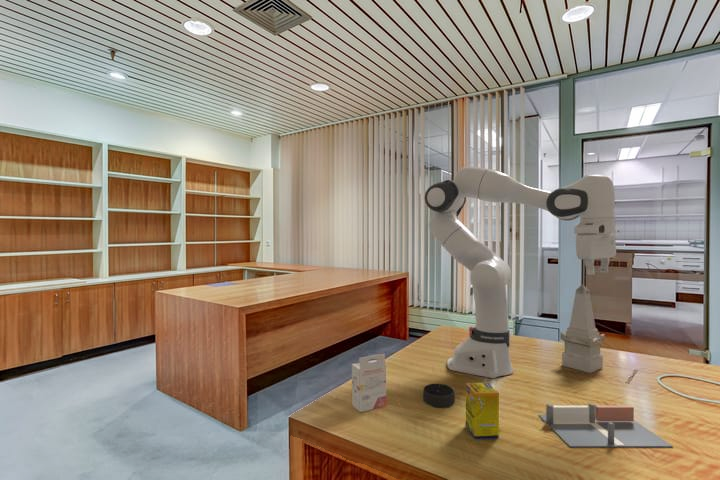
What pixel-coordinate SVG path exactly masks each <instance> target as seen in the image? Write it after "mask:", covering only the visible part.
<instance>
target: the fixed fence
mask: <svg viewBox="0 0 720 480" xmlns="http://www.w3.org/2000/svg"><path fill="white" fill-rule="evenodd" d="M545 406H546V407H545V409H546V411H545V415H546V422H547V423H549V424H553V423H589V422H590V423H595V406H596V404H595V403H592V402H591V403H588V405H553V404H550V403H546V405H545ZM608 442H609V443H611V444H614V423H611V422H608Z"/></svg>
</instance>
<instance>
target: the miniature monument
mask: <svg viewBox="0 0 720 480" xmlns="http://www.w3.org/2000/svg"><path fill="white" fill-rule="evenodd" d="M573 298H574V300H573V303H572V304H573V305H572V310H571V315H570V322H569V327H567V328H566V331H565V332H564V333H563V332H561V331H560V334H559V335H560V336H559V337H560V338H559V339H560V340H562V341H564V351H563V352H562V354H561V365H562V366H563V367H567V368H571V369H574V370H578V371H581V372H585V373H588V374H592V373H594V372H596V371H599V370H601V369H603V368H604V367H603V365H604V364H603V363H604V362H603V361H604V356H603V354H602V353H601V343H604V342H605V341H606V335H605V334H604V333H601V334H600V332H599V330H598V328H596V323H595V317H594V311H593V304H592V299H591V294H590V289H589V288H588V287H586V286H585V284H581V285H580V286H579V287H578V288H576V289H575V294H574V297H573Z"/></svg>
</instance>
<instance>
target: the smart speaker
mask: <svg viewBox="0 0 720 480" xmlns="http://www.w3.org/2000/svg"><path fill="white" fill-rule="evenodd" d="M422 400H423V401H424V403H425V404H426V405H427V406H429V407H432V408H437V409H446V408H447V409H448V408H450V407H452V406H453V405H454V404H455V402H456V393H455V390H454V389H453V388H452V387H451V386H449V385H448V384H444V383H429V384H426V385H425V386H424V387H423V389H422Z"/></svg>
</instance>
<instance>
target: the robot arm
mask: <svg viewBox="0 0 720 480" xmlns="http://www.w3.org/2000/svg"><path fill="white" fill-rule="evenodd" d="M467 198H471V199H472V198H474V199H476V200H477V199H478V200H481V201H485V202H490V203H503V204H505V203H508V204H509V203H510V204H511V203H512V204H520V205H521V204H522V205H525V206H529V207H532V208H537V209H541V210H544V211H546V212H549V213H550V214H551V215H552V216H554V217H556V218H557V219H559V220H560V221H561V220H562V221H566V222H567V221H573V220H576V219H577V218H579V217H580V222H579V223H578V224H577V225H576V226H574V229H573V233H574V234H575V235H576V236H575V253H576V257H577V258H578V259H579V260H584V265H585V268H586V274H587V275H591V276H592V275H595V274H596V268H595V264H594V263H595V260H599V259H600V266H599V272H600V273H601V274H602V273H603V274H605V273H608V272H609V269H608V268H609V265H610V261H611V259H612V258H616V255H617V246H616V245H617V243H616V236H615V235H614V234H616V218H615V217H616V216H615V213H614V207H615V204H616V201H615V199H616V198H615V187H614V183H613V180H612V179H611V178H609V177H608V176H606V175H601V174H587V175H584V176H582V177H581V178H580V179H578V180H577V181H575V182H573V183H571V184H568V185H565V186H562V187H560V188H556V189H555V190H553V191H548V190H543V189H539V188H534V187H530V186H527V185H525V184H523V183H521V182H519V181H517V180H516V179H515V178H513V177H511V176H510V175H508V174H506V173H503V172H500V171H498V170H495V169H491V168H486V167H485V168H484V167H477V166H463V167H461V168H459V169H458V170H457V172H456V173H455V175H454V178H453V180H450V179H446V180H444V181H439V182H437V183H434V184H432V185H431V186H429V187H428V188H427V189H426V190H425V193H424V202H425V204H426V206H427V208H428V209H430V210H431V211H432V212H434V214H433V215H432V217H431V218H430V220H429V222H428V228H429V230H430V232H431V234H432V235H433V236H434V238H435V239H436V240H437V242H438V243H439V244H440V245H441V246H442V247H443V248H444V249H445V250H446V251H447V252H448V253H449V255H450V256H452V258H453V259H454V260H455V261H456V262H457V263H458V264H460V265H462V266H463V267H465V268H466V269H467V270H469V271H470V272H471V273H470V282H471V284H472V285H471V286H472V293H473V301H474V308H475V310H474V311H475V315H474V316H475V318H474V319H475V326H473V325H471V326H469V328H468V331H469V337H468V338H467V339H465V340H463V341H462V342H461V343H459V344H458V345H457V346H456V347H455V349H454V352H453V356H451V357H449V358H448V360H447V363H446V367H447V368H448V369H449V370H450V371H454V372H458V373H465V374H470V375H474V376H479V377H484V378H491V379H496V378H498V377H501V376H502V377H503V376H509V375H511V374H513V373H514V369H513V365H512V360H511V356H510V345H511V334H510V330H509V306H508V300H507V291H506V286H507V285H508V284H509V283H510V281H511V277H512V270H511V267H510V265H508V263H507V262H506V261H504V260H503V258H501V257H500V256H499V255H498V254H496V253H495V252H494V251H493V250H491V248H489V246H487V245H485V244H484V243H483V242H482V241H480V240H479V239H478V237H476V236H475V235H474V234H473V232H472V231H470V230H469V228H467V227H466V225H464V223H463V222H462V221H460V220H459V218H458V217H459V215H460V213H461V211H462V210H463V208H464V207H465V205H466V202H467Z"/></svg>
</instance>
